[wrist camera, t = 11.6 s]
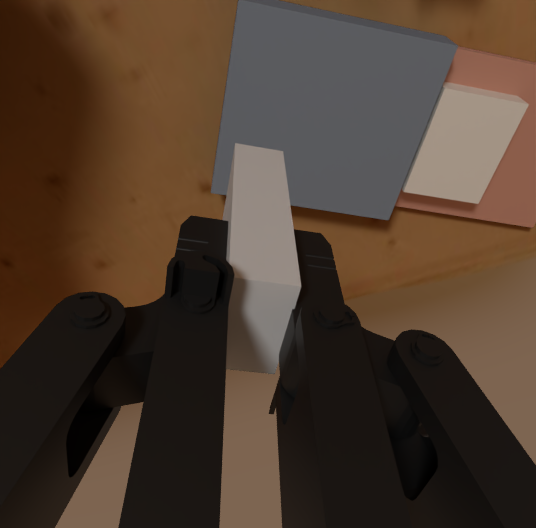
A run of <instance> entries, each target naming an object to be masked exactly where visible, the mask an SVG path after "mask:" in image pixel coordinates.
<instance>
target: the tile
mask: <svg viewBox="0 0 536 528" xmlns="http://www.w3.org/2000/svg"><path fill="white" fill-rule="evenodd" d="M528 105H529V104H528V103H526V102H525V101H524V100H522V99H521V98H520V97H519V96H515V95H510V94H505V93H500V92H495V91H490V90H485V89H480V88H475V87H470V86H464V85H459V84H454V83H449V82H444V83H443V85H442V88H441V90H440V93H439V95H438V98H437V100H436V103H435V105H434V108H433V110H432V113H431V115H430V118H429V120H428V123H427V126H426V128H425V131H424V133H423V136H422V138H421V141H420V143H419V146H418V148H417V151H416V153H415V156H414V158H413V161H412V163H411V166H410V168H409V171H408V173H407V176H406V178H405V181H404V183H403V186H402V190H403V192H407V193H413V194H419V195H426V196H432V197H438V198H444V199H450V200H457V201H463V202H469V203H475V204H479V202H480V200H481V198H482V196H483V194H484V192H485V190H486V188H487V186H488V184H489V182H490V180H491V178H492V176H493V174H494V172H495V170H496V168H497V166H498V164H499V162H500V160H501V158H502V157H503V155H504V153H505V151H506V149H507V147H508V145H509V143H510V141H511V139H512V137H513V135H514V133H515V131H516V129H517V127H518V125H519V123H520V121H521V119H522V117H523V115H524V113H525V111H526V109H527V107H528Z"/></svg>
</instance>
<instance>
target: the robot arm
mask: <svg viewBox="0 0 536 528" xmlns="http://www.w3.org/2000/svg"><path fill="white" fill-rule="evenodd" d="M333 258H334V257H333V253H332V248H331V245H330V244H329V243H328V241H327V240H326V239H325V238H324V237H323V235H322V234H321V233H315V232H308V231H301V230H294V228H293V221H292V214H291V206H290V199H289V191H288V184H287V177H286V169H285V162H284V154H283V151H279V150H273V149H267V148H261V147H255V146H249V145H244V144H238V143H235V147H234V153H233V159H232V165H231V172H230V178H229V184H228V190H227V196H226V202H225V208H224V214H223V220H218V219H211V218H204V217H198V216H190V217H189V218H188V219H187V220H186V221H185V222H184V223H183V224H182V225H181V228H180V233H179V238H178V243H177V248H176V253H175V257H173V258H172V259H171V261H170V262H169V264H168V266H167V276H166V286H165V294H164V295H163V296H162V297H161V298H159V299H158V300H156V301H154V302H152V303H149V304H147V305H141V306H136V307H127V308H124V306H123V305H122V304H121V303H120V302H119V301H118V300H117V299H116V298H114V297H112V296H110V295H108V294H105V293H98V292H83V293H77V294H74V295H72V296H69V297H66V298H65V299H64V300H62V301H61V302H60V303H58V304H57V305H56V306H55V307H54V308H53V310H52V311H51V312H50V313H49V314H48V315H47V316H46V318H45V319H44V320H43V321H42V322H41V323H40V324H39V326H38V327H37V328H36V329H35V330H34V331H33V332H32V334H31V335H30V336H29V337H28V338H27V339H26V340H25V342H24V343H23V344H22V345H21V346H20V347H19V348H18V350H17V351H16V352H15V353H14V354H13V355H12V356H11V358H10V359H9V360H8V361H7V362H6V363H5V364H4V366H3V367H2V368H1V369H0V528H55V526H56V524H57V523H58V521H59V519H60V517H61V515H62V513H63V512H64V509H65V508H66V506H67V504H68V503H69V501H70V499H71V497H72V496H73V494H74V492H75V490H76V488H77V487H78V485H79V483H80V481H81V479H82V478H83V476H84V474H85V472H86V470H87V469H88V467H89V465H90V463H91V461H92V460H93V458H94V456H95V454H96V453H97V451H98V449H99V447H100V445H101V444H102V442H103V440H104V438H105V436H106V434H107V433H108V431H109V429H110V427H111V426H112V424H113V422H114V420H115V418H116V417H117V415H118V413H119V411H120V408H121V406H123V405H129V404H134V403H140V402H144V403H143V408H142V413H141V418H140V423H139V428H138V433H137V438H136V443H135V448H134V453H133V458H132V463H131V468H130V473H129V478H128V483H127V488H126V493H125V498H124V503H123V508H122V513H121V518H120V523H119V528H219V522H220V520H219V519H220V498H221V474H222V449H223V426H224V402H225V401H224V400H225V378H226V369H230V370H239V371H249V372H258V373H268V374H275V371H276V368H277V365H278V361H279V367H280V378H279V380H278V383H277V387H276V390H275V393H274V396H273V399H272V402H271V406H270V411H269V414H274V411H275V408H276V413H277V432H278V453H279V472H280V491H281V510H282V528H536V465H535V464H534V462H533V461H532V459H531V458H530V457H529V455H528V454H527V453H526V451H525V450H524V449H523V447H522V446H521V444H520V443H519V442H518V440H517V439H516V437H515V436H514V435H513V433H512V432H511V430H510V429H509V428H508V426H507V425H506V424H505V422H504V421H503V419H502V418H501V417H500V415H499V414H498V412H497V411H496V410H495V408H494V407H493V405H492V404H491V403H490V401H489V400H488V399H487V397H486V396H485V394H484V393H483V392H482V390H481V389H480V387H479V386H478V385H477V384H476V382H475V381H474V379H473V378H472V376H471V375H470V374H469V372H468V371H467V369H466V368H465V367H464V365H463V364H462V363H461V361H460V360H459V358H458V357H457V356H456V354H455V353H454V352H453V350H452V349H451V348H450V347H449V346H448V345H447V344H446V343H445V342H444V341H443V340H441V339H440V338H438V337H436V336H435V335H433V334H430V333H428V332H424V331H421V330H408V331H404V332H402V333H401V334H400V335H399V336H398V337H397V338H396V340H395V341H393V340H391V339H388V338H386V337H383V336H380V335H377V334H375V333H372V332H370V331H368V330H366V329H364V328H363V327H361V324H360V321H359V319H358V317H357V315H356V313H355V312H354V311H353V310H352V309H350V308H349V307H348V306H347V305H345V304H344V300H343V295H342V291H341V287H340V283H339V278H338V274H337V270H336V265H335V261H334V260H333Z"/></svg>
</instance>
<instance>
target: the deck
mask: <svg viewBox="0 0 536 528" xmlns="http://www.w3.org/2000/svg"><path fill="white" fill-rule="evenodd" d="M457 48H458V45H456V44H455V43H454V42H452V41H451V40H450V39H448V38H447V37H446V36H442V35H438V34H433V33H428V32H424V31H419V30H414V29H410V28H405V27H400V26H396V25H391V24H386V23H382V22H377V21H372V20H368V19H363V18H358V17H353V16H349V15H344V14H339V13H335V12H330V11H325V10H321V9H316V8H311V7H307V6H302V5H297V4H293V3H288V2H283V1H279V0H238V5H237V12H236V19H235V26H234V33H233V40H232V47H231V54H230V61H229V68H228V75H227V82H226V89H225V96H224V103H223V110H222V117H221V124H220V131H219V138H218V145H217V151H216V158H215V165H214V172H213V180H212V188H211V193H215V194H221V195H227V190H228V184H229V178H230V172H231V165H232V159H233V153H234V147H235V143H238V144H244V145H249V146H255V147H261V148H267V149H273V150H279V151H283V154H284V162H285V169H286V177H287V184H288V191H289V199H290V205H292V206H299V207H305V208H312V209H318V210H325V211H331V212H337V213H344V214H350V215H357V216H363V217H370V218H376V219H383V220H389V218H390V216H391V213H392V211H393V208H394V206H395V203H396V201H397V198H398V196H399V193H400V191H401V188H402V186H403V183H404V181H405V178H406V176H407V173H408V171H409V168H410V166H411V163H412V161H413V158H414V156H415V153H416V151H417V148H418V146H419V143H420V141H421V138H422V136H423V133H424V131H425V128H426V126H427V123H428V120H429V118H430V115H431V113H432V110H433V108H434V105H435V103H436V100H437V98H438V95H439V93H440V90H441V88H442V85H443V83H444V80H445V78H446V75H447V73H448V70H449V68H450V65H451V63H452V60H453V58H454V55H455V53H456V50H457Z"/></svg>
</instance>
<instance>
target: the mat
mask: <svg viewBox="0 0 536 528" xmlns="http://www.w3.org/2000/svg"><path fill="white" fill-rule="evenodd" d="M444 82H449V83H454V84H459V85H464V86H470V87H475V88H480V89H485V90H490V91H495V92H500V93H505V94H510V95H515V96H519V97H520V98H521V99H522V100H524V101H525V102H526V103H528V104H529V105H528V107H527V109H526V111H525V113H524V115H523V117H522V119H521V121H520V123H519V125H518V127H517V129H516V131H515V133H514V135H513V137H512V139H511V141H510V143H509V145H508V147H507V149H506V151H505V153H504V155H503V157H502V158H501V160H500V162H499V164H498V166H497V168H496V170H495V172H494V174H493V176H492V178H491V180H490V182H489V184H488V186H487V188H486V190H485V192H484V194H483V196H482V198H481V200H480V202H479V204H475V203H469V202H463V201H457V200H450V199H444V198H438V197H432V196H426V195H419V194H413V193H407V192H403V190H402V188H401V191H400V193H399V196H398V198H397V201H396V203H395V206H399V207H405V208H411V209H418V210H424V211H430V212H436V213H443V214H449V215H455V216H461V217H468V218H474V219H480V220H486V221H493V222H499V223H505V224H511V225H518V226H524V227H530V228H533V226H534V225H535V223H536V63H535V62H530V61H525V60H521V59H516V58H511V57H507V56H502V55H497V54H492V53H488V52H483V51H478V50H474V49H469V48H464V47H459V46H458V48H457V50H456V53H455V55H454V58H453V60H452V63H451V65H450V68H449V70H448V73H447V75H446V78H445V80H444Z"/></svg>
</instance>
